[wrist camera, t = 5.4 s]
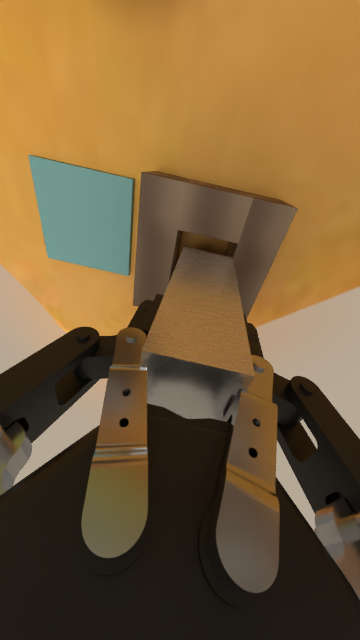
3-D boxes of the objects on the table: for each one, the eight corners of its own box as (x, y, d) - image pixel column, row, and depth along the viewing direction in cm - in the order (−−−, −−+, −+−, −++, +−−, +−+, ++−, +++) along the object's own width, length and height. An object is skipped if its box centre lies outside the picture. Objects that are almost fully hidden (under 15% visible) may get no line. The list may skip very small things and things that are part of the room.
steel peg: (232, 257, 17) (254, 376, 7) (218, 299, 19) (220, 432, 10) (183, 246, 17) (141, 350, 7) (175, 289, 19) (135, 412, 10)
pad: (134, 179, 21) (132, 179, 20) (129, 274, 26) (128, 276, 26) (32, 155, 20) (28, 155, 20) (50, 255, 26) (47, 257, 26)
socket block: (280, 200, 20) (297, 208, 16) (237, 305, 27) (241, 329, 23) (155, 171, 20) (141, 172, 16) (145, 284, 27) (133, 305, 23)
